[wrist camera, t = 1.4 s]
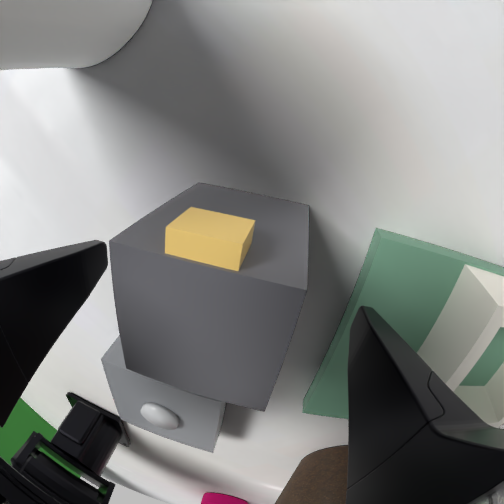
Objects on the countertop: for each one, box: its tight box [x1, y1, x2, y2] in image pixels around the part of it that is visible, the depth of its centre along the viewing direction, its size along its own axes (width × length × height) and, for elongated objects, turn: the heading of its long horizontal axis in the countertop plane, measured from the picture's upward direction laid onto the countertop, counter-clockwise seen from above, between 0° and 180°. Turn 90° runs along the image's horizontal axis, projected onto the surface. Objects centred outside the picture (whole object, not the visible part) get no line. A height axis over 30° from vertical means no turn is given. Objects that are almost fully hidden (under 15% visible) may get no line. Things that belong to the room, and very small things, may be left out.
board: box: [302, 228, 504, 428], centre depth 11 cm, size 11×13×4 cm
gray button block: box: [101, 335, 226, 453], centre depth 15 cm, size 12×7×3 cm, turn 171°
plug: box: [109, 183, 309, 411], centre depth 9 cm, size 5×4×6 cm
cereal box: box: [0, 398, 81, 478], centre depth 23 cm, size 18×7×24 cm, turn 48°
